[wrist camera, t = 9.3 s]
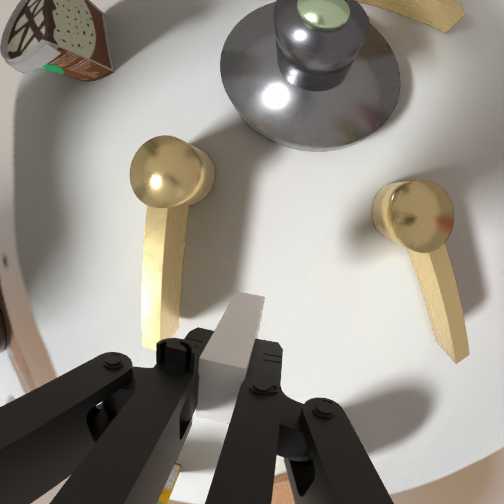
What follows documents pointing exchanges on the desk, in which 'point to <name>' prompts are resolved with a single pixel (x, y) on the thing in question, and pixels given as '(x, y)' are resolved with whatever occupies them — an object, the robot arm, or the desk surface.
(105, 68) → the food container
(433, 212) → the gold lever handle
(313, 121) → the base
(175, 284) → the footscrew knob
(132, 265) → the desk surface
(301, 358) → the desk surface
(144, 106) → the desk surface
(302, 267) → the desk surface
